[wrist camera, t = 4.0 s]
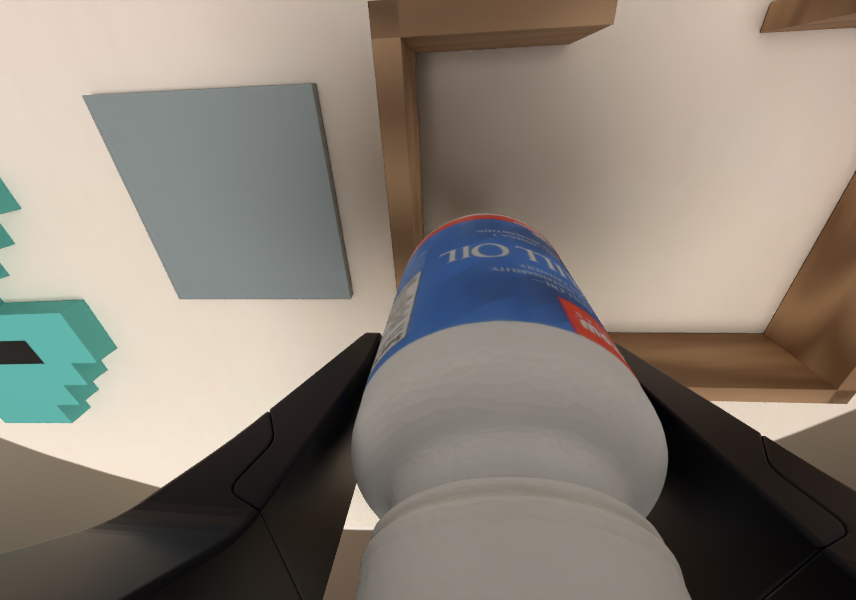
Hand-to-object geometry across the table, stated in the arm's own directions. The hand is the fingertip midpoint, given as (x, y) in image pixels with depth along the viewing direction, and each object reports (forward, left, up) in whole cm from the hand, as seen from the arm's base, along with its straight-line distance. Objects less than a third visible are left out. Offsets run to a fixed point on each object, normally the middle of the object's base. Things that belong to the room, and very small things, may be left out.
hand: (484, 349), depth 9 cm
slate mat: (+1, +14, -12) cm, 18 cm away
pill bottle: (0, 0, -4) cm, 4 cm away
